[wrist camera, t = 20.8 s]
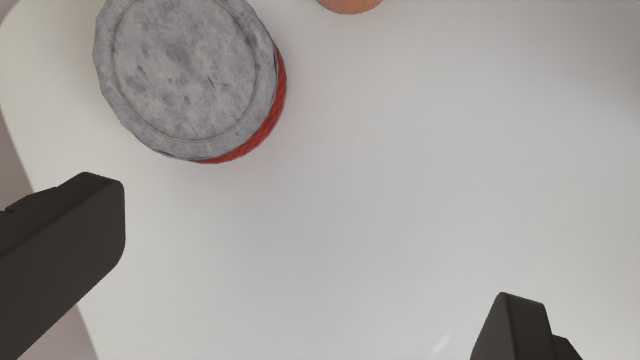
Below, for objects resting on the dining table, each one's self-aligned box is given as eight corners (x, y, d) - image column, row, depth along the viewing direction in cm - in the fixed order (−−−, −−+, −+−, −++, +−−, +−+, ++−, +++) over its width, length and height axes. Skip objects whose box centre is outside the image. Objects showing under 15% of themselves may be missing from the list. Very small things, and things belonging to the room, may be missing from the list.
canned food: (299, 83, 34) (350, 90, 25) (198, 181, 34) (213, 226, 24) (182, -52, 30) (192, -102, 21) (63, 58, 29) (20, 56, 20)
